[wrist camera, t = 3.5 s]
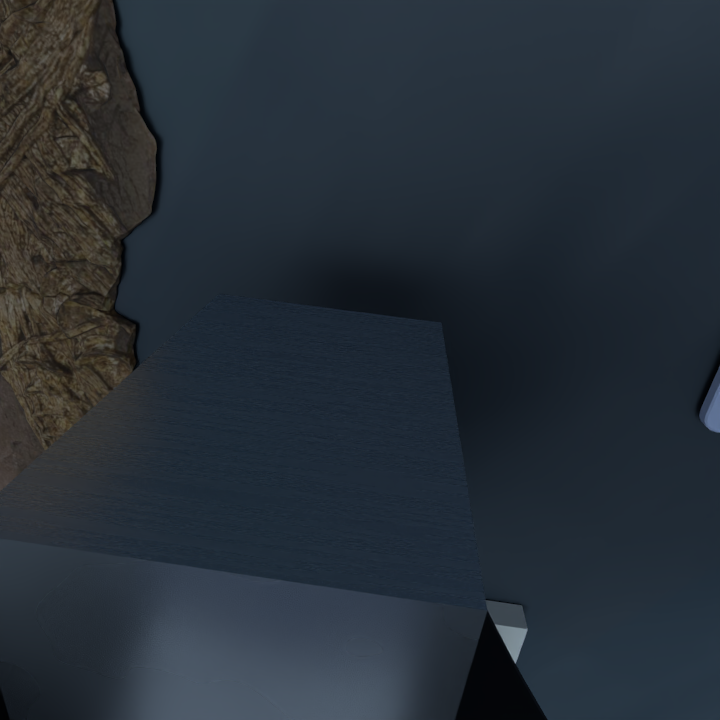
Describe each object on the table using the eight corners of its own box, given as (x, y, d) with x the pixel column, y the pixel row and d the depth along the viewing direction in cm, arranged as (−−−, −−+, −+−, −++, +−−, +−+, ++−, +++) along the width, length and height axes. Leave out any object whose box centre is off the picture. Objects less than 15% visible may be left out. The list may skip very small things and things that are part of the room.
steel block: (441, 322, 9) (487, 611, 4) (384, 630, 13) (365, 1018, 7) (218, 293, 9) (-45, 531, 4) (221, 606, 13) (82, 968, 7)
